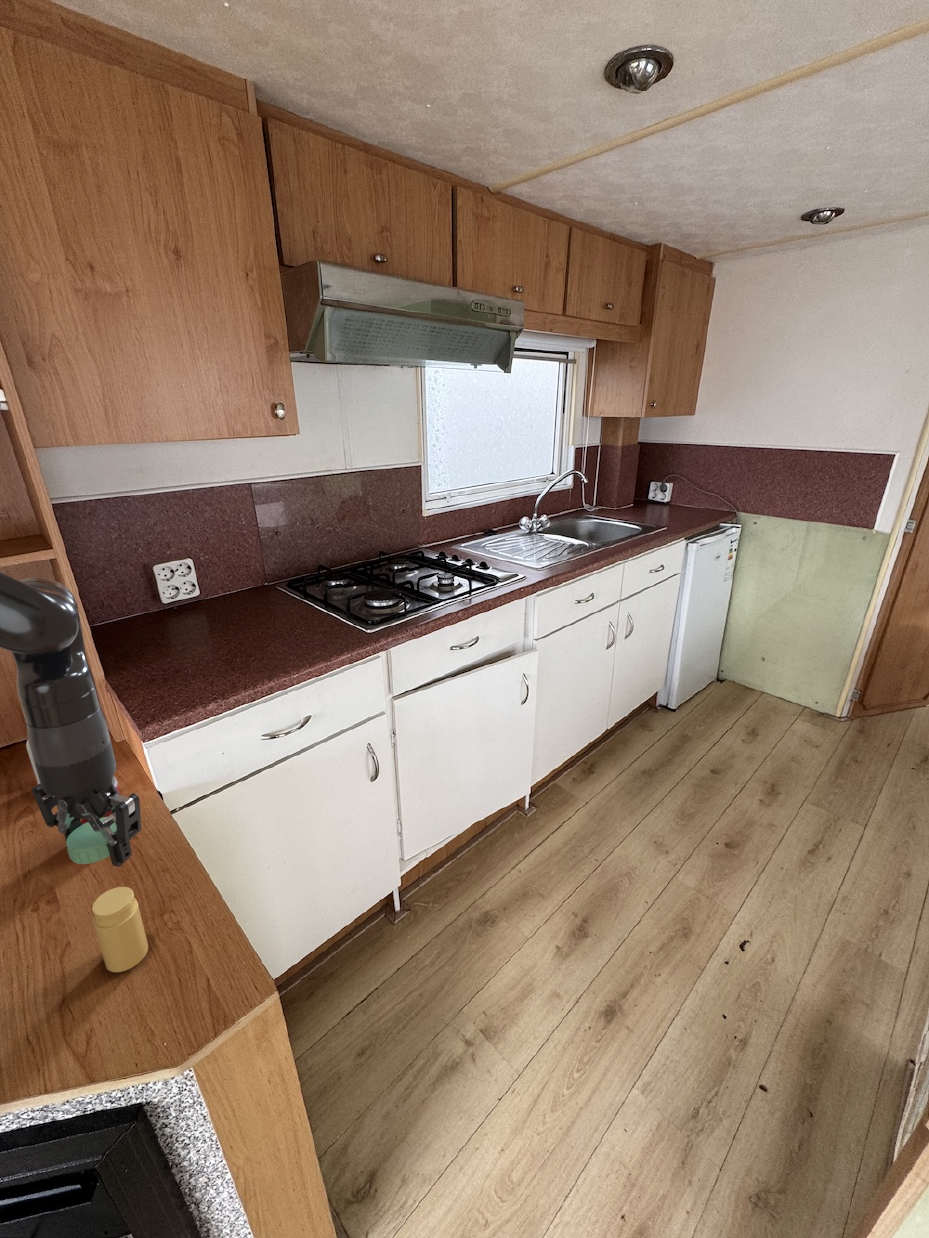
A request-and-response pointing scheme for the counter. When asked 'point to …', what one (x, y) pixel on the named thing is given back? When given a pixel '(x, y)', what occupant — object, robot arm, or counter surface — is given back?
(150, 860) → the counter surface
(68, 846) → the lid
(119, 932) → the jar
